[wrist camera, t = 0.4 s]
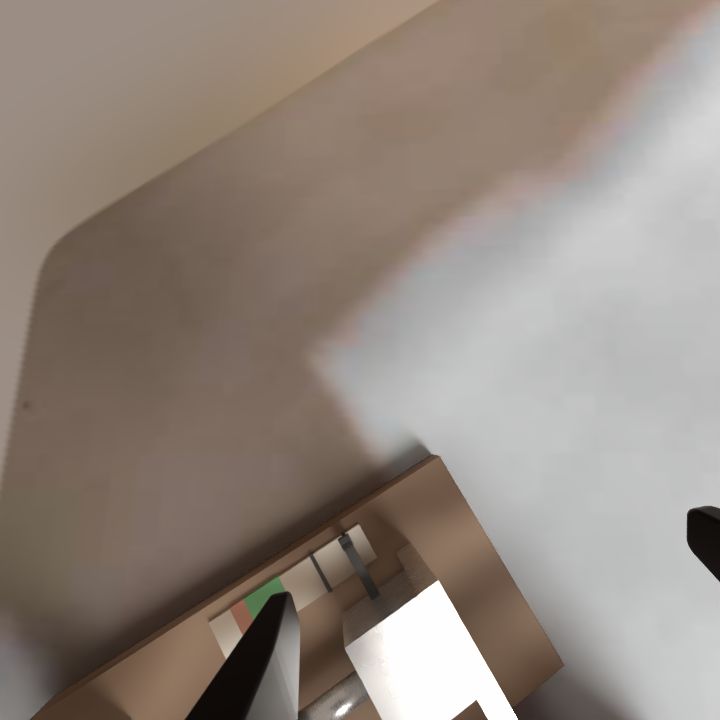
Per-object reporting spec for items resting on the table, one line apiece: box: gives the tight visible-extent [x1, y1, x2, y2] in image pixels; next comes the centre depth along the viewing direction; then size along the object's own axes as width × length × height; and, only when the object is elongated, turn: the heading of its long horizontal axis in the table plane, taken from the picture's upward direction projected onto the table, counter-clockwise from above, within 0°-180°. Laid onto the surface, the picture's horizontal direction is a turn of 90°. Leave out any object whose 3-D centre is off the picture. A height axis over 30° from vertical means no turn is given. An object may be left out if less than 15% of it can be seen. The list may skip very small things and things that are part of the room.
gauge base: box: [30, 454, 564, 720], centre depth 17 cm, size 13×24×6 cm, turn 120°
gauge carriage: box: [298, 533, 518, 720], centre depth 16 cm, size 9×9×5 cm
